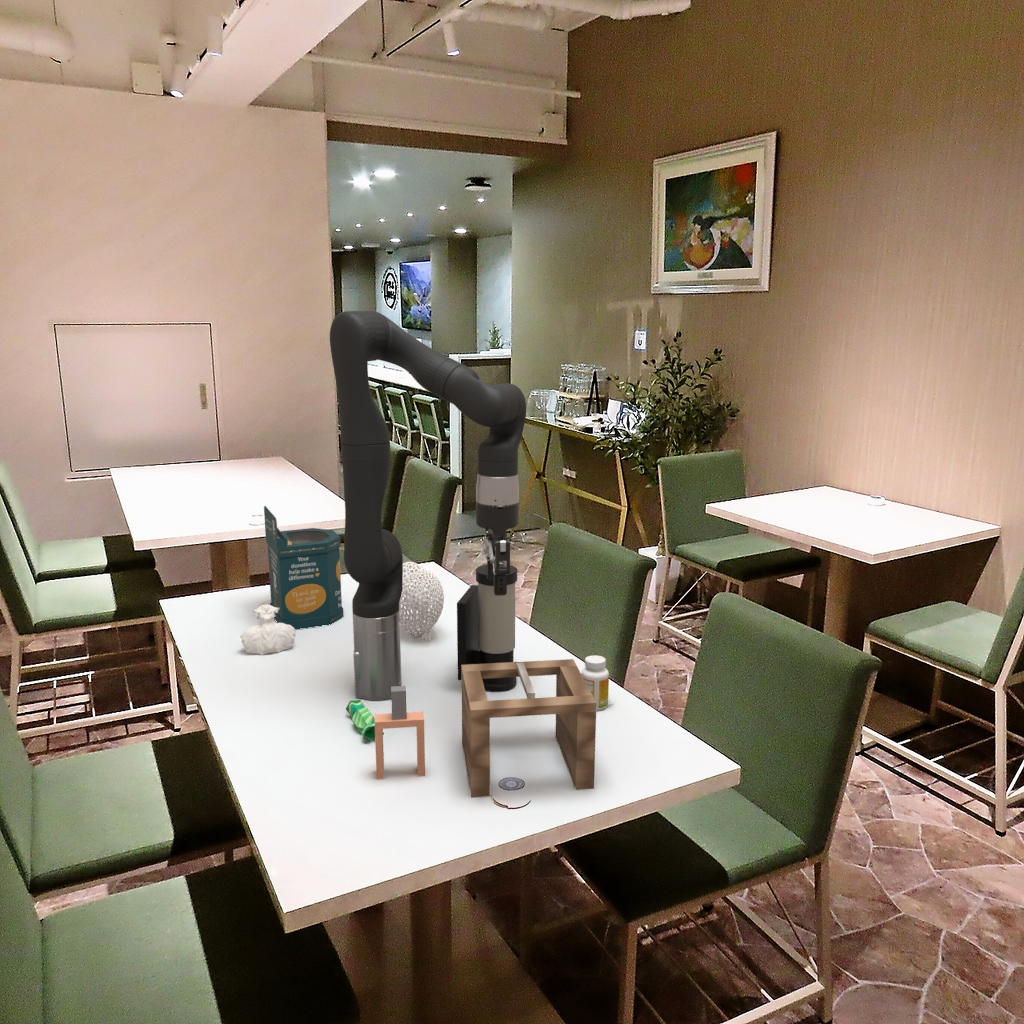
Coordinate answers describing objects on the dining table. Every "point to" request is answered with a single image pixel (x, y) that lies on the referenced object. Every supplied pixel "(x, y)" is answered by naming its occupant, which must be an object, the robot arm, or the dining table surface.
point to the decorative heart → (420, 600)
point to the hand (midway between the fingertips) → (496, 587)
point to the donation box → (304, 574)
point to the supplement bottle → (597, 679)
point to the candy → (362, 719)
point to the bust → (268, 633)
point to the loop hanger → (399, 720)
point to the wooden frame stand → (568, 705)
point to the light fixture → (487, 627)
